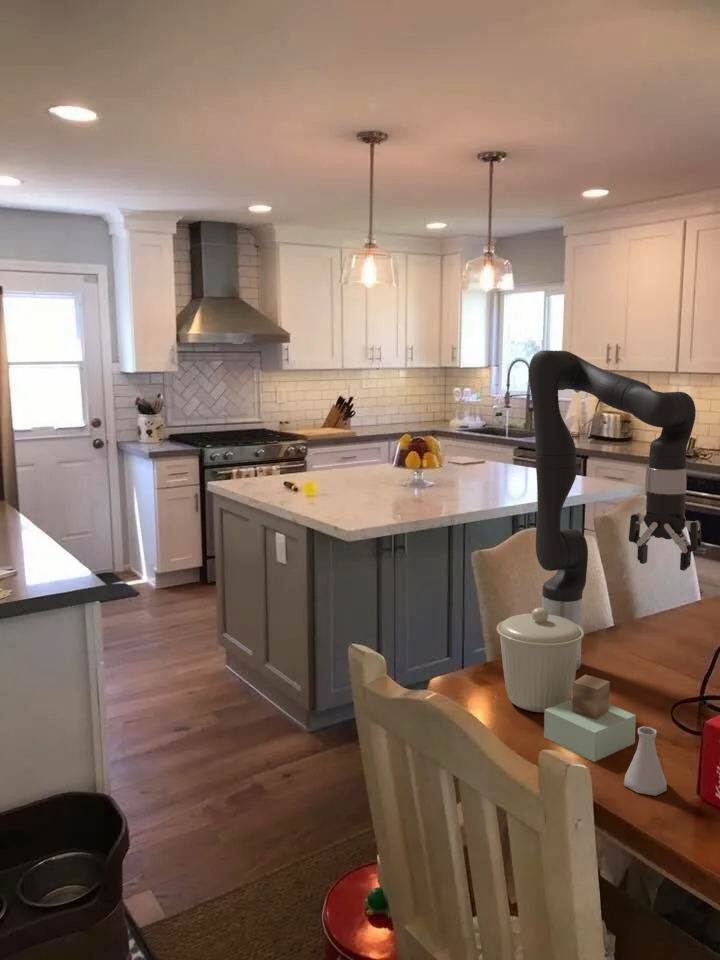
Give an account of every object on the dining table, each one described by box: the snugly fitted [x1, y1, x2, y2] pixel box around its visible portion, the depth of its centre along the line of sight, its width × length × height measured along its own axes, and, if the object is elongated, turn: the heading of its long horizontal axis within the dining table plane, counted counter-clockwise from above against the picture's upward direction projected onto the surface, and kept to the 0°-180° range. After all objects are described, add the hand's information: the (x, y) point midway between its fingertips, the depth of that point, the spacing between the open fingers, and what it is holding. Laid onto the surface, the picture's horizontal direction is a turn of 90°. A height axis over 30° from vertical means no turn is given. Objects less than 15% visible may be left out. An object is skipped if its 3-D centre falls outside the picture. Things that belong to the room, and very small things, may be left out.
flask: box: [623, 726, 668, 797], centre depth 134 cm, size 7×7×10 cm
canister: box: [496, 607, 585, 713], centre depth 166 cm, size 18×18×21 cm
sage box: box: [543, 698, 637, 763], centre depth 151 cm, size 12×12×6 cm
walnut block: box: [572, 674, 611, 720], centre depth 150 cm, size 5×5×6 cm
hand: (663, 566), depth 163 cm, fingers open, 8 cm apart
